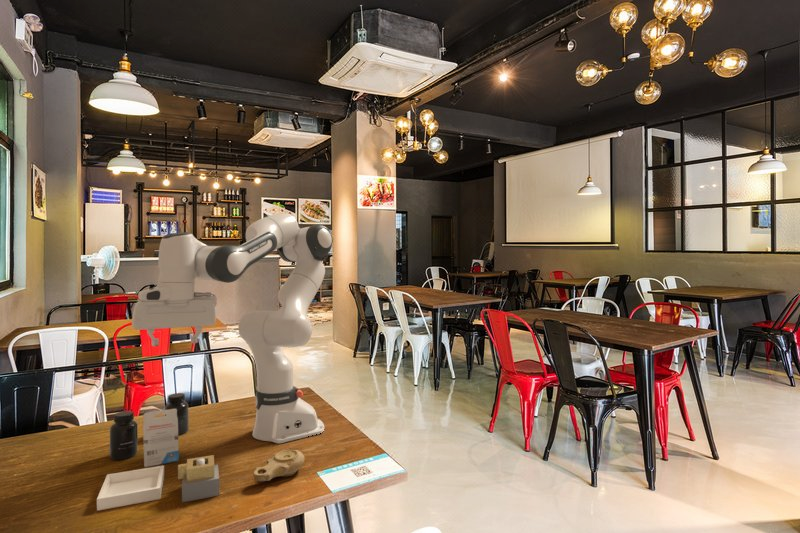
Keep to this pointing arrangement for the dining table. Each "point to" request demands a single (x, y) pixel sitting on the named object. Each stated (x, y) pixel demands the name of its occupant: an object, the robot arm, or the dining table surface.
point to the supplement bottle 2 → (179, 411)
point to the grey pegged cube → (201, 486)
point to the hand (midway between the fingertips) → (175, 344)
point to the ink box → (160, 437)
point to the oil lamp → (280, 465)
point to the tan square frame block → (197, 469)
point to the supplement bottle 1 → (123, 436)
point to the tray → (131, 487)
